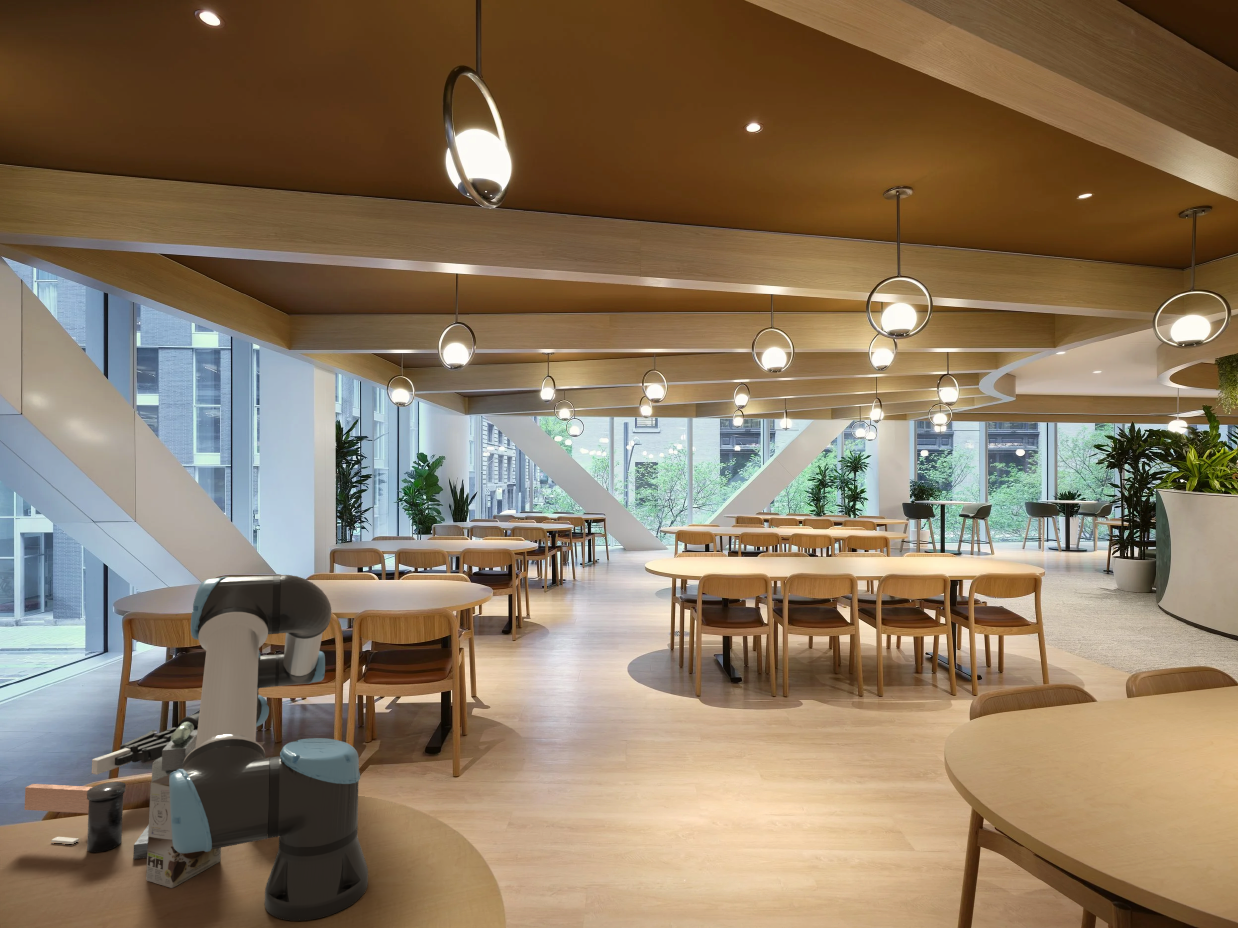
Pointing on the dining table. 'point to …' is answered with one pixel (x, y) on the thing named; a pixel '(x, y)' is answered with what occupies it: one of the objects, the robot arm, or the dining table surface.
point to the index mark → (65, 840)
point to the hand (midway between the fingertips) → (94, 766)
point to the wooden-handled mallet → (84, 808)
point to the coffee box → (170, 844)
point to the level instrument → (168, 769)
